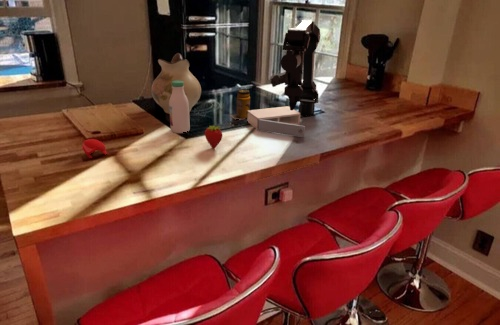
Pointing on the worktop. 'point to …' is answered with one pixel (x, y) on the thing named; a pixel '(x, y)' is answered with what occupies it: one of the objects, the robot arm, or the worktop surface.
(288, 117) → the cabinet
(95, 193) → the worktop surface
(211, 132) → the strawberry
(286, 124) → the door
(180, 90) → the milk bottle
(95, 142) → the cap
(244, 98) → the condiment
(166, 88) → the pitcher
